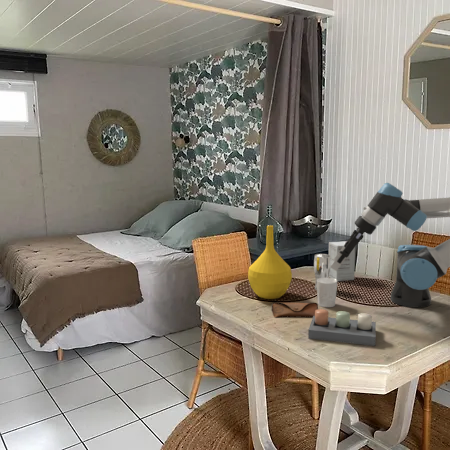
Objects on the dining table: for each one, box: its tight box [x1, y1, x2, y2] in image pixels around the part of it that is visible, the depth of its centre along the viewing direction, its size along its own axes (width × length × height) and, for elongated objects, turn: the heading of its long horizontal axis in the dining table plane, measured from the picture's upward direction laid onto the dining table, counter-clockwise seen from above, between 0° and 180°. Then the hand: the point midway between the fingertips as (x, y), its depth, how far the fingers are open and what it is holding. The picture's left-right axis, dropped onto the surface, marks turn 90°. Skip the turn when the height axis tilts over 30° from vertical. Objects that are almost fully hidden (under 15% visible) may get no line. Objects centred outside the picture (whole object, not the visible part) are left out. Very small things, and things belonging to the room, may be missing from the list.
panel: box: [307, 316, 377, 347], centre depth 156 cm, size 21×13×3 cm, turn 72°
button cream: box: [357, 312, 373, 330], centre depth 153 cm, size 4×4×4 cm
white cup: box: [316, 277, 338, 308], centre depth 184 cm, size 8×8×10 cm
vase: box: [247, 224, 293, 300], centre depth 194 cm, size 18×18×30 cm
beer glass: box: [313, 253, 330, 291], centre depth 204 cm, size 7×7×15 cm
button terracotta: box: [315, 308, 329, 325], centre depth 158 cm, size 4×4×4 cm
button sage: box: [335, 310, 351, 327], centre depth 156 cm, size 4×4×4 cm
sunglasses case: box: [271, 301, 319, 319], centre depth 176 cm, size 18×7×7 cm, turn 89°
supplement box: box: [328, 240, 356, 282], centre depth 219 cm, size 10×9×17 cm
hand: (334, 265), depth 180 cm, fingers open, 13 cm apart
